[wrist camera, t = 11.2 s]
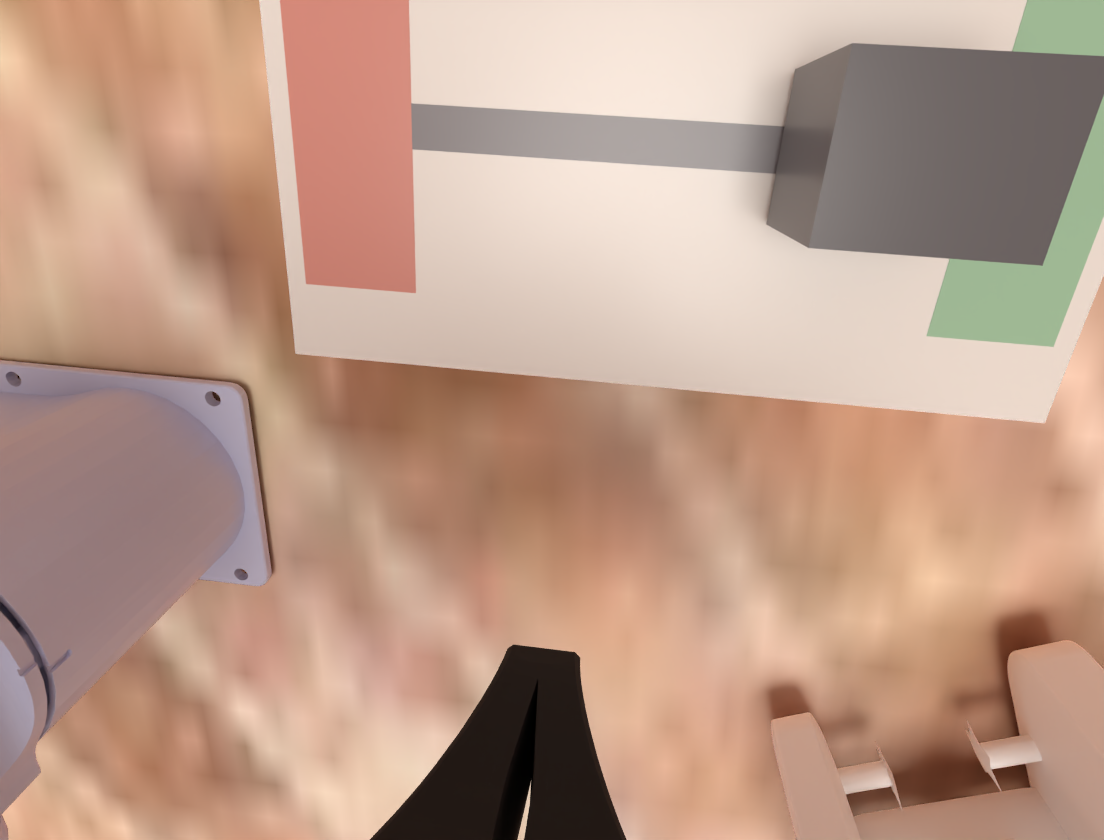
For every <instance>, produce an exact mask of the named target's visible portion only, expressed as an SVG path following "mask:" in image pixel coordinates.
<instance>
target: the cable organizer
mask: <svg viewBox="0 0 1104 840" xmlns="http://www.w3.org/2000/svg"><path fill="white" fill-rule="evenodd" d="M1007 670H1008V679H1009V685H1010V690H1011V695H1012V699H1013V704H1014V709H1015V714H1016V719H1017V724H1018V729H1019V734H1020V736H1015V737H1010V738H1004V739H998V740H993V741H987V742H982V743H978V741H977V739H976V737H975V735H974V733H973V731H972V729H971V727H970V725H969V723H968V721H967V724H968V727H969V731H970V733H969V732H968V731H967V730H966V729H965V731H966V733H967V735H968V738H969V740H970V742H971V745H972V747H973V749H974V751H975V754H976V756H977V758H978V759H979V761H980V763H981V765H982V767H983V769H984V770H985V772H986V773H987V772H988V773H989V775H990V776H991V777H992V779H993V780H994V782H995V783H996V785H997V786H998V788H999V789H1000V787H999V785H998V782H997V780H996V778H995V776H994V774H993V772H992V770H991V769H997V768H1003V767H1009V766H1015V765H1021V764H1026V768H1027V773H1028V778H1029V783H1030V788H1019V789H1013V790H1007V791H1001V789H1000V791H1001V792H995V793H988V794H982V795H976V796H970V797H964V798H957V799H951V800H945V801H939V802H933V803H926V804H920V805H914V806H908V807H901V803H900V799H899V796H898V792H897V788H896V784H895V781H894V777H893V773H892V772H891V770H890V768H889V766H888V764H887V762H886V760H885V758H884V757H883V755H882V753H881V751H880V749H879V747H878V745H877V743H876V745H877V748H878V751H879V752H878V751H877V752H878V755H879V757H880V760H881V761H875V762H870V763H864V764H859V765H853V766H847V767H842V768H836V765H835V762H834V760H833V757H832V754H831V752H830V749H829V747H828V745H827V742H826V740H825V738H824V735H823V733H822V731H821V729H820V727H819V725H818V723H817V722H816V720H815V718H814V717H813V715H812V714H811V713H809V712H807V713H802V714H797V715H792V716H787V717H782V718H777V719H773V720H772V721H771V735H772V741H773V746H774V751H775V755H776V760H777V764H778V768H779V772H780V776H781V780H782V784H783V788H784V792H785V796H786V800H787V804H788V808H789V813H790V817H791V821H792V825H793V829H794V833H795V837H796V840H1104V669H1103V668H1102V667H1101V666H1100V665H1099V664H1098V663H1097V662H1096V661H1095V659H1094V658H1093V657H1092V656H1091V655H1090V654H1089V653H1088V652H1087V651H1086V650H1085V649H1084V648H1082V647H1081V646H1080V645H1078V644H1077V643H1075V642H1073V641H1069V640H1064V641H1059V642H1054V643H1049V644H1044V645H1040V646H1035V647H1030V648H1025V649H1020V650H1016V651H1013V652H1011V654H1010V655H1009V658H1008V665H1007ZM966 720H967V719H966ZM875 742H876V741H875ZM876 750H877V749H876ZM885 787H891V789H892V791H893V793H894V794H895V796H896V798H897V801H898V803H899V805H900V808H895V809H889V810H883V811H877V812H870V813H864V814H859V815H856V816H853V814H852V811H851V808H850V806H849V803H848V800H847V797H846V794H849V793H855V792H861V791H867V790H873V789H879V788H885Z"/></svg>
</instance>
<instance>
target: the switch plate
mask: <svg viewBox="0 0 1104 840" xmlns="http://www.w3.org/2000/svg"><path fill="white" fill-rule="evenodd" d="M259 2H260V12H261V22H262V32H263V41H264V51H265V61H266V70H267V80H268V90H269V100H270V109H271V119H272V129H273V139H274V148H275V158H276V168H277V177H278V187H279V197H280V207H281V216H282V226H283V236H284V246H285V255H286V265H287V275H288V284H289V294H290V304H291V314H292V323H293V333H294V343H295V353H296V354H303V355H314V356H325V357H335V358H346V359H357V360H368V361H379V362H389V363H400V364H411V365H422V366H433V367H443V368H454V369H465V370H476V371H487V372H498V373H508V374H519V375H530V376H541V377H552V378H562V379H573V380H584V381H595V382H606V383H616V384H627V385H638V386H649V387H660V388H670V389H681V390H692V391H703V392H714V393H724V394H735V395H746V396H757V397H768V398H778V399H789V400H800V401H811V402H822V403H832V404H843V405H854V406H865V407H876V408H886V409H897V410H908V411H919V412H930V413H941V414H951V415H962V416H973V417H984V418H995V419H1005V420H1016V421H1027V422H1038V423H1045V421H1046V419H1047V416H1048V414H1049V411H1050V409H1051V406H1052V404H1053V401H1054V398H1055V396H1056V393H1057V391H1058V388H1059V386H1060V383H1061V381H1062V378H1063V376H1064V373H1065V371H1066V368H1067V366H1068V363H1069V361H1070V358H1071V356H1072V353H1073V351H1074V348H1075V346H1076V343H1077V341H1078V338H1079V336H1080V333H1081V331H1082V328H1083V326H1084V323H1085V321H1086V318H1087V316H1088V313H1089V311H1090V308H1091V306H1092V303H1093V301H1094V298H1095V296H1096V293H1097V291H1098V288H1099V285H1100V283H1101V280H1102V278H1103V275H1104V96H1103V99H1102V101H1101V104H1100V107H1099V110H1098V112H1097V115H1096V118H1095V121H1094V124H1093V126H1092V129H1091V132H1090V135H1089V138H1088V140H1087V143H1086V146H1085V149H1084V151H1083V154H1082V157H1081V160H1080V163H1079V165H1078V168H1077V171H1076V174H1075V177H1074V179H1073V182H1072V185H1071V188H1070V191H1069V193H1068V196H1067V199H1066V202H1065V204H1064V207H1063V210H1062V213H1061V216H1060V218H1059V221H1058V224H1057V227H1056V230H1055V232H1054V235H1053V238H1052V241H1051V244H1050V246H1049V249H1048V252H1047V255H1046V257H1045V260H1044V263H1043V266H1040V265H1027V264H1014V263H1000V262H987V261H974V260H961V259H947V258H934V257H921V256H908V255H894V254H881V253H868V252H854V251H841V250H828V249H815V248H808V247H806V246H804V245H802V244H800V243H799V242H797V241H795V240H793V239H791V238H790V237H788V236H786V235H784V234H782V233H781V232H779V231H777V230H775V229H773V228H772V227H770V226H768V225H766V224H767V218H768V213H769V207H770V202H771V197H772V191H773V186H774V180H775V175H776V170H777V164H778V159H779V154H780V148H781V143H782V137H783V132H784V127H785V121H786V116H787V110H788V105H789V100H790V94H791V89H792V83H793V78H794V73H795V69H797V68H799V67H801V66H803V65H806V64H808V63H810V62H812V61H814V60H816V59H819V58H821V57H823V56H825V55H827V54H830V53H832V52H834V51H836V50H838V49H840V48H843V47H845V46H847V45H849V44H851V43H861V44H880V45H899V46H918V47H938V48H957V49H976V50H995V51H1014V52H1033V53H1053V54H1072V55H1091V56H1104V0H259Z"/></svg>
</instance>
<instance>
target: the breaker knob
mask: <svg viewBox="0 0 1104 840" xmlns="http://www.w3.org/2000/svg"><path fill="white" fill-rule="evenodd" d="M1103 96H1104V56H1091V55H1072V54H1053V53H1033V52H1014V51H995V50H976V49H957V48H938V47H918V46H899V45H880V44H861V43H851V44H849V45H847V46H845V47H843V48H840V49H838V50H836V51H834V52H832V53H830V54H827V55H825V56H823V57H821V58H819V59H816V60H814V61H812V62H810V63H808V64H806V65H803V66H801V67H799V68H797V69H795V73H794V78H793V83H792V89H791V94H790V100H789V105H788V110H787V116H786V121H785V127H784V132H783V137H782V143H781V148H780V154H779V159H778V164H777V170H776V175H775V180H774V186H773V191H772V197H771V202H770V207H769V213H768V218H767V224H766V225H768V226H770V227H772V228H773V229H775V230H777V231H779V232H781V233H782V234H784V235H786V236H788V237H790V238H791V239H793V240H795V241H797V242H799V243H800V244H802V245H804V246H806V247H808V248H815V249H828V250H841V251H854V252H868V253H881V254H894V255H908V256H921V257H934V258H947V259H961V260H974V261H987V262H1000V263H1014V264H1027V265H1040V266H1043V263H1044V260H1045V257H1046V255H1047V252H1048V249H1049V246H1050V244H1051V241H1052V238H1053V235H1054V232H1055V230H1056V227H1057V224H1058V221H1059V218H1060V216H1061V213H1062V210H1063V207H1064V204H1065V202H1066V199H1067V196H1068V193H1069V191H1070V188H1071V185H1072V182H1073V179H1074V177H1075V174H1076V171H1077V168H1078V165H1079V163H1080V160H1081V157H1082V154H1083V151H1084V149H1085V146H1086V143H1087V140H1088V138H1089V135H1090V132H1091V129H1092V126H1093V124H1094V121H1095V118H1096V115H1097V112H1098V110H1099V107H1100V104H1101V101H1102V99H1103Z"/></svg>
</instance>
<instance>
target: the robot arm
mask: <svg viewBox="0 0 1104 840" xmlns="http://www.w3.org/2000/svg"><path fill="white" fill-rule="evenodd" d="M16 374H17V375H18V376H19V377H20V379H21V380H20V379H19V378H18V377H17V375H16ZM212 392H215V393H217V394H218V395H219V397H220V399H221V400H220V402H219V401H217V400H216V399H215V398H214V397H213V395H212ZM241 569H243V570H245V571H246V572H247V573H244V572H243V571H242V570H241ZM271 574H272V570H271V563H270V556H269V549H268V541H267V534H266V527H265V520H264V512H263V505H262V498H261V491H260V483H259V476H258V469H257V461H256V454H255V447H254V440H253V432H252V425H251V418H250V411H249V403H248V397H247V394H246V392H245V391H244V389H243V388H242V387H241V386H239V385H238V384H235V383H232V382H222V381H212V380H202V379H191V378H181V377H171V376H160V375H150V374H140V373H129V372H119V371H108V370H98V369H88V368H77V367H67V366H57V365H46V364H36V363H26V362H15V361H5V360H0V840H8V828H7V825H6V823H5V821H4V818H3V816H2V815H1V814H2V813H3V812H4V811H5V810H6V809H7V808H8V807H9V806H10V805H11V804H12V803H13V802H14V801H15V800H16V798H17V797H18V796H19V795H20V794H21V793H22V792H23V791H24V790H25V789H26V788H27V787H28V786H29V785H30V783H31V782H32V781H33V780H34V779H35V778H36V777H37V776H38V775H39V774H40V773H41V771H40V767H39V764H38V762H37V760H36V754H35V748H36V744H37V742H38V741H39V740H40V739H41V738H42V737H43V736H44V735H45V734H46V733H47V732H48V731H49V730H50V729H51V728H52V727H53V726H54V725H55V724H56V723H57V722H58V721H59V720H60V719H61V718H62V717H63V716H64V715H65V714H66V713H67V712H68V711H69V710H70V709H71V708H72V706H73V705H74V704H75V703H76V702H77V701H78V700H79V699H80V698H81V697H82V696H83V695H84V694H85V693H86V692H87V691H88V690H89V689H90V688H91V687H92V686H93V685H94V684H95V683H96V682H97V681H98V680H99V679H100V678H101V677H102V676H103V675H104V674H105V673H106V672H107V671H108V670H109V669H110V668H111V667H112V666H113V665H114V664H115V663H116V662H117V661H118V660H119V659H120V658H121V657H122V656H123V655H124V654H125V653H126V652H127V651H128V650H129V649H130V648H131V647H132V646H133V645H134V644H135V643H136V642H137V641H138V640H139V639H140V638H141V637H142V636H143V635H144V634H145V633H146V632H147V631H148V630H149V629H150V628H151V627H152V626H153V625H154V624H155V623H156V622H157V621H158V620H159V619H160V618H161V617H162V615H163V614H164V613H165V612H166V611H167V610H168V609H169V608H170V607H171V606H172V605H173V604H174V603H175V602H176V601H177V600H178V599H179V598H180V597H181V596H182V595H183V594H184V593H185V592H186V591H187V590H188V589H189V588H190V587H191V586H192V585H193V584H194V583H195V582H196V581H197V580H198V579H201V580H209V581H217V582H226V583H234V584H242V585H251V586H262V585H264V584H265V583H266V582H267V581H268V580H269V578H270V577H271ZM530 782H531V795H530V807H529V813H528V819H527V826H526V832H525V838H524V840H626V837H625V835H624V833H623V830H622V828H621V825H620V823H619V820H618V817H617V815H616V812H615V809H614V806H613V804H612V801H611V798H610V795H609V792H608V789H607V786H606V783H605V780H604V777H603V774H602V771H601V767H600V764H599V761H598V757H597V754H596V750H595V746H594V743H593V739H592V735H591V731H590V727H589V723H588V719H587V714H586V709H585V704H584V698H583V692H582V685H581V677H580V657H579V656H578V655H577V654H576V653H575V652H568V651H560V650H552V649H544V648H536V647H528V646H520V645H512V646H511V647H509V648H508V649H507V651H506V654H505V656H504V659H503V661H502V663H501V665H500V667H499V669H498V671H497V673H496V675H495V676H494V678H493V680H492V682H491V684H490V685H489V687H488V689H487V690H486V692H485V694H484V695H483V697H482V699H481V700H480V702H479V703H478V705H477V707H476V708H475V710H474V711H473V713H472V714H471V716H470V717H469V719H468V720H467V722H466V723H465V725H464V727H463V728H462V729H461V731H460V732H459V734H458V735H457V737H456V738H455V739H454V741H453V742H452V743H451V745H450V746H449V747H448V749H447V750H446V751H445V753H444V754H443V755H442V757H441V758H440V759H439V761H438V762H437V764H436V765H435V766H434V767H433V769H432V770H431V771H430V772H429V774H428V775H427V776H426V777H425V779H424V780H423V781H422V782H421V784H420V785H419V786H418V787H417V788H416V790H415V791H414V792H413V793H412V794H411V795H410V797H409V798H408V799H407V800H406V801H405V802H404V803H403V805H402V806H401V807H400V808H399V809H398V810H397V811H396V813H395V814H394V815H393V816H392V817H391V818H390V819H389V820H388V821H387V822H386V823H385V824H384V825H383V826H382V827H381V828H380V830H379V831H378V832H377V833H376V834H375V835H374V836H373V837H372V838H371V839H370V840H517V839H518V834H519V830H520V826H521V821H522V817H523V813H524V808H525V804H526V800H527V795H528V791H529V787H530Z"/></svg>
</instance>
